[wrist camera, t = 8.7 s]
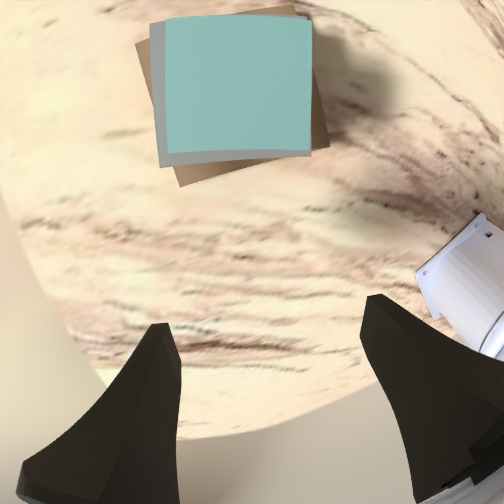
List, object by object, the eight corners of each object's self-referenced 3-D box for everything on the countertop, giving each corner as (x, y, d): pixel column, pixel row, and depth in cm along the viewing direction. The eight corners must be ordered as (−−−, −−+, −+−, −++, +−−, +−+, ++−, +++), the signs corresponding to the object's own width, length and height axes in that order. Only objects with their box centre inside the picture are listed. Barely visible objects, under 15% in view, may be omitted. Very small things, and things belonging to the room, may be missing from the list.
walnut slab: (285, 14, 14) (293, 4, 12) (318, 141, 18) (330, 146, 16) (143, 50, 14) (134, 43, 12) (183, 178, 18) (180, 187, 16)
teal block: (280, 46, 11) (311, 20, 7) (279, 134, 14) (309, 150, 9) (183, 46, 11) (165, 19, 7) (184, 136, 13) (168, 153, 9)
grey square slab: (295, 26, 13) (306, 16, 11) (299, 150, 16) (311, 156, 14) (157, 33, 12) (149, 23, 10) (166, 160, 16) (159, 167, 14)
